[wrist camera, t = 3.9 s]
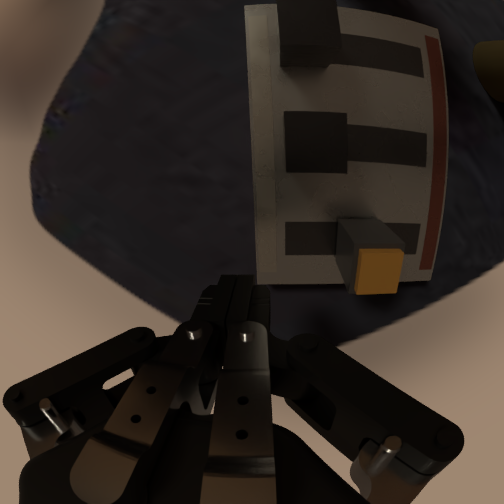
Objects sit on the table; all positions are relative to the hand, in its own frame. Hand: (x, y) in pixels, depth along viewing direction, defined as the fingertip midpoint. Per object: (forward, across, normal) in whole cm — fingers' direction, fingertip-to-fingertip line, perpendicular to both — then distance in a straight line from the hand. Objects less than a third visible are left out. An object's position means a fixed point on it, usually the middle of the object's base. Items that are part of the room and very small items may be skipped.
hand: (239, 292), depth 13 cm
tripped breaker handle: (+7, -7, 0) cm, 10 cm away
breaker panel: (+9, -7, -7) cm, 13 cm away
